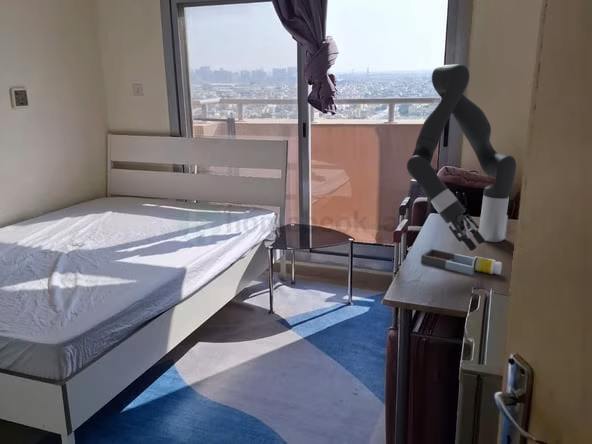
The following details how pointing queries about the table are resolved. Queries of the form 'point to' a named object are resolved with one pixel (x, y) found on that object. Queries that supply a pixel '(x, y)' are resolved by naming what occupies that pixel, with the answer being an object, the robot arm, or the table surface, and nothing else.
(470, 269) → the trough
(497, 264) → the supplement bottle
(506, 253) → the table surface
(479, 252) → the table surface
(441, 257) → the trap bin
